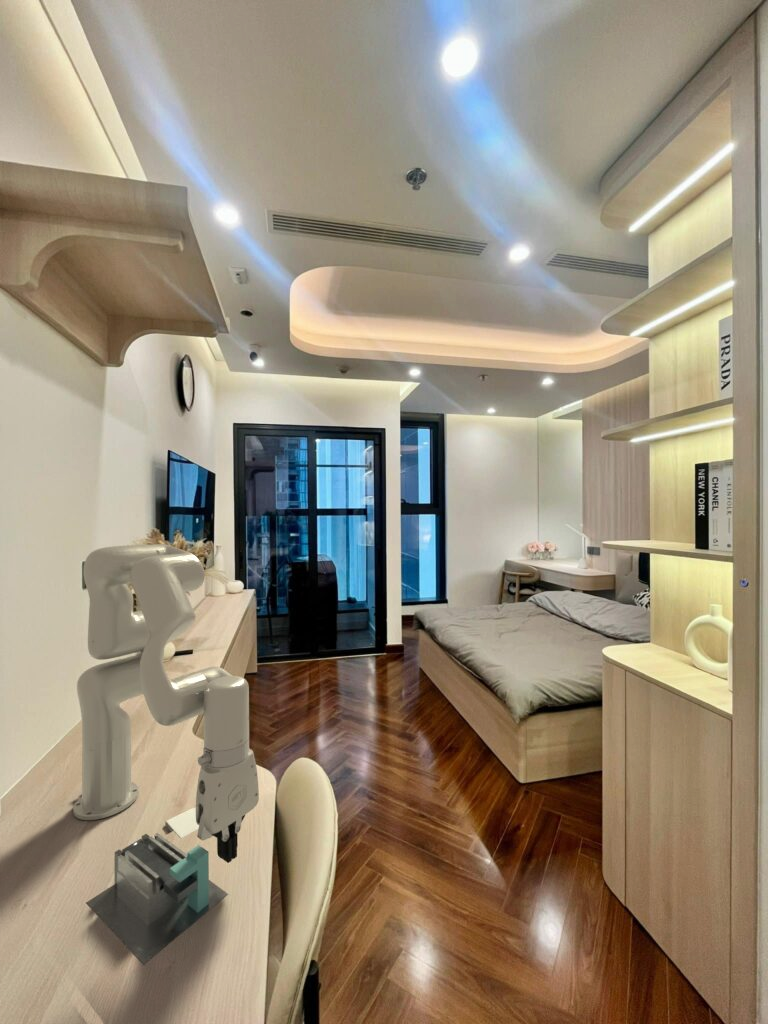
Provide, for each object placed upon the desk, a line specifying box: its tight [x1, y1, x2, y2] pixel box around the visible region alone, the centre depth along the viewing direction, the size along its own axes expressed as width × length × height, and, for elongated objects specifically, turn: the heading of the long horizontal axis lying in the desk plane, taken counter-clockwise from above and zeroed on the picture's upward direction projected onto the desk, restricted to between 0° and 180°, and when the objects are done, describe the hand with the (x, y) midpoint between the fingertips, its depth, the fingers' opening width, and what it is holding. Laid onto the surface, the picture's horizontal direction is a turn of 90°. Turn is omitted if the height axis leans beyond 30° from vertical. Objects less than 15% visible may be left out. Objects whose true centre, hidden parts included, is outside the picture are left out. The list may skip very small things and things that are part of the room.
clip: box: [170, 844, 210, 913], centre depth 70 cm, size 3×5×8 cm, turn 146°
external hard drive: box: [164, 806, 199, 839], centre depth 94 cm, size 2×8×12 cm
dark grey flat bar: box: [121, 838, 197, 902], centre depth 73 cm, size 18×3×1 cm, turn 56°
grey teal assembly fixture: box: [85, 832, 229, 965], centre depth 73 cm, size 18×14×7 cm
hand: (227, 856), depth 76 cm, fingers closed
